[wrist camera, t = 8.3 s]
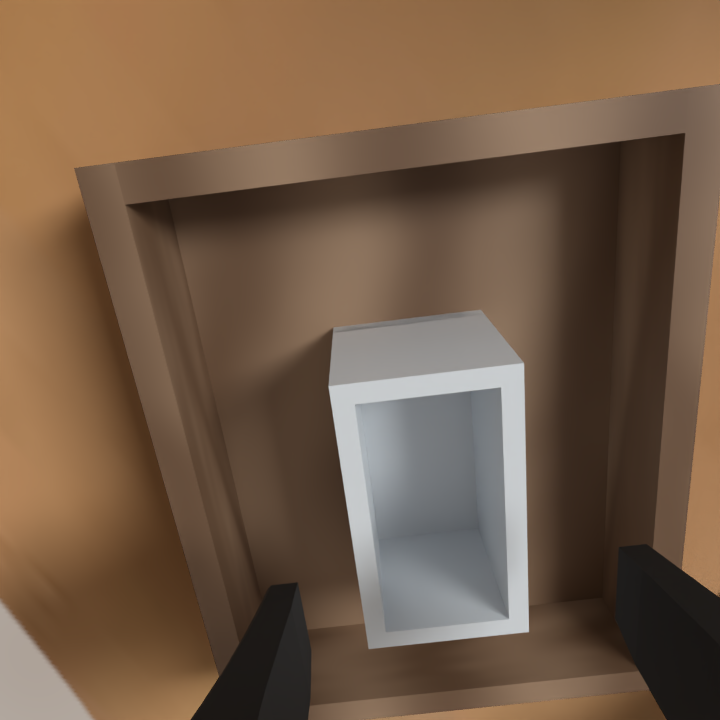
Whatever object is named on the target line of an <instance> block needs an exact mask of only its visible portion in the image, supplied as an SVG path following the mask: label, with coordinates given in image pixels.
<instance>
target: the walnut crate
mask: <svg viewBox="0 0 720 720" xmlns="http://www.w3.org/2000/svg"><path fill="white" fill-rule="evenodd" d="M74 169H75V173H76V176H77V180H78V183H79V187H80V190H81V194H82V197H83V201H84V204H85V208H86V211H87V215H88V218H89V222H90V225H91V229H92V232H93V236H94V239H95V243H96V246H97V250H98V253H99V257H100V260H101V264H102V267H103V271H104V274H105V278H106V281H107V285H108V288H109V292H110V295H111V299H112V302H113V306H114V309H115V313H116V316H117V320H118V323H119V327H120V330H121V334H122V337H123V341H124V344H125V348H126V351H127V355H128V358H129V362H130V365H131V369H132V372H133V376H134V379H135V383H136V386H137V390H138V394H139V397H140V401H141V404H142V408H143V411H144V415H145V418H146V422H147V425H148V429H149V432H150V436H151V439H152V443H153V446H154V450H155V453H156V457H157V460H158V464H159V467H160V471H161V474H162V478H163V481H164V485H165V488H166V492H167V495H168V499H169V502H170V506H171V509H172V513H173V516H174V520H175V523H176V527H177V530H178V534H179V537H180V541H181V544H182V548H183V551H184V555H185V558H186V562H187V565H188V569H189V572H190V576H191V579H192V583H193V586H194V590H195V593H196V597H197V600H198V604H199V607H200V611H201V614H202V618H203V621H204V625H205V628H206V632H207V635H208V639H209V642H210V646H211V649H212V653H213V656H214V660H215V663H216V667H217V670H218V674H219V677H220V675H221V673H222V672H223V670H224V669H225V667H226V665H227V664H228V662H229V660H230V658H231V657H232V655H233V653H234V652H235V650H236V648H237V646H238V645H239V643H240V641H241V640H242V638H243V636H244V634H245V632H246V630H247V629H248V627H249V625H250V623H251V621H252V619H253V617H254V615H255V614H256V612H257V610H258V608H259V606H260V604H261V602H262V600H263V597H264V595H265V593H266V591H267V589H268V588H269V587H270V586H271V585H278V584H287V583H296V582H298V586H299V591H300V596H301V601H302V606H303V611H304V616H305V621H306V625H307V630H308V635H309V640H310V645H311V650H312V652H311V699H310V707H309V716H308V720H366V719H376V718H386V717H395V716H405V715H414V714H424V713H434V712H443V711H453V710H463V709H472V708H482V707H491V706H501V705H511V704H520V703H530V702H539V701H549V700H559V699H568V698H578V697H587V696H597V695H607V694H616V693H626V692H635V691H645V690H649V688H648V686H647V684H646V683H645V681H644V679H643V677H642V676H641V674H640V672H639V670H638V668H637V667H636V665H635V663H634V661H633V658H632V656H631V654H630V652H629V650H628V647H627V645H626V643H625V640H624V638H623V636H622V633H621V631H620V629H619V626H618V624H617V622H616V619H615V609H616V589H617V570H618V551H619V547H623V546H632V545H641V544H647V545H649V546H650V547H651V548H653V549H654V550H655V551H657V552H658V553H660V554H661V555H662V556H664V557H665V558H666V559H668V560H669V561H670V562H672V563H673V564H674V565H676V566H677V567H678V568H680V569H681V570H682V560H683V550H684V540H685V531H686V521H687V511H688V501H689V491H690V481H691V472H692V462H693V452H694V442H695V432H696V422H697V413H698V403H699V393H700V383H701V373H702V363H703V354H704V344H705V334H706V324H707V314H708V304H709V295H710V285H711V275H712V265H713V255H714V245H715V236H716V226H717V216H718V206H719V196H720V84H716V85H709V86H701V87H693V88H686V89H678V90H670V91H663V92H655V93H647V94H640V95H632V96H624V97H617V98H609V99H601V100H594V101H586V102H578V103H570V104H563V105H555V106H547V107H540V108H532V109H524V110H517V111H509V112H501V113H494V114H486V115H478V116H471V117H463V118H455V119H448V120H440V121H432V122H425V123H417V124H409V125H402V126H394V127H386V128H379V129H371V130H363V131H355V132H348V133H340V134H332V135H325V136H317V137H309V138H302V139H294V140H286V141H279V142H271V143H263V144H256V145H248V146H240V147H233V148H225V149H217V150H210V151H202V152H194V153H187V154H179V155H171V156H164V157H156V158H148V159H140V160H133V161H125V162H117V163H110V164H102V165H94V166H87V167H79V168H74ZM474 310H481V311H482V312H483V313H484V314H485V315H486V317H487V318H488V319H489V320H490V322H491V323H492V324H493V325H494V327H495V328H496V329H497V330H498V331H499V333H500V334H501V335H502V336H503V338H504V339H505V340H506V341H507V343H508V344H509V345H510V346H511V348H512V349H513V350H514V351H515V352H516V354H517V355H518V356H519V357H520V359H521V360H522V361H523V362H524V387H525V441H526V496H527V551H528V605H529V632H524V633H515V634H506V635H496V636H487V637H478V638H468V639H459V640H450V641H440V642H431V643H421V644H412V645H403V646H393V647H384V648H375V649H369V648H368V641H367V635H366V628H365V622H364V615H363V608H362V602H361V595H360V589H359V582H358V576H357V569H356V563H355V556H354V550H353V543H352V537H351V530H350V523H349V517H348V510H347V504H346V497H345V491H344V484H343V478H342V471H341V465H340V458H339V451H338V445H337V438H336V432H335V425H334V419H333V412H332V406H331V399H330V393H329V374H330V362H331V350H332V338H333V328H334V327H342V326H350V325H358V324H367V323H375V322H383V321H391V320H400V319H408V318H416V317H425V316H433V315H441V314H449V313H458V312H466V311H474Z"/></svg>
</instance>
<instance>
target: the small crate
mask: <svg viewBox="0 0 720 720" xmlns="http://www.w3.org/2000/svg"><path fill="white" fill-rule="evenodd" d="M329 393H330V399H331V406H332V412H333V419H334V425H335V432H336V438H337V445H338V451H339V458H340V465H341V471H342V478H343V484H344V491H345V497H346V504H347V510H348V517H349V523H350V530H351V537H352V543H353V550H354V556H355V563H356V569H357V576H358V582H359V589H360V595H361V602H362V608H363V615H364V622H365V628H366V635H367V641H368V648H369V649H375V648H384V647H393V646H403V645H412V644H421V643H431V642H440V641H450V640H459V639H468V638H478V637H487V636H496V635H506V634H515V633H524V632H529V605H528V551H527V496H526V441H525V387H524V362H523V361H522V360H521V359H520V357H519V356H518V355H517V354H516V352H515V351H514V350H513V349H512V348H511V346H510V345H509V344H508V343H507V341H506V340H505V339H504V338H503V336H502V335H501V334H500V333H499V331H498V330H497V329H496V328H495V327H494V325H493V324H492V323H491V322H490V320H489V319H488V318H487V317H486V315H485V314H484V313H483V312H482V311H481V310H474V311H466V312H458V313H449V314H441V315H433V316H425V317H416V318H408V319H400V320H391V321H383V322H375V323H367V324H358V325H350V326H342V327H334V328H333V338H332V350H331V362H330V374H329Z"/></svg>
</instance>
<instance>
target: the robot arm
mask: <svg viewBox="0 0 720 720" xmlns="http://www.w3.org/2000/svg"><path fill="white" fill-rule="evenodd" d="M615 619H616V622H617V624H618V626H619V629H620V631H621V633H622V636H623V638H624V640H625V643H626V645H627V647H628V650H629V652H630V654H631V656H632V658H633V661H634V663H635V665H636V667H637V668H638V670H639V672H640V674H641V676H642V677H643V679H644V681H645V683H646V684H647V686H648V688H649V690H650V691H651V693H652V695H653V697H654V698H655V700H656V702H657V703H658V705H659V707H660V709H661V710H662V712H663V714H664V715H665V717H666V719H667V720H720V598H719V597H718V596H716V595H715V594H714V593H712V592H711V591H710V590H708V589H707V588H705V587H704V586H703V585H701V584H700V583H699V582H697V581H696V580H695V579H693V578H692V577H690V576H689V575H688V574H686V573H685V572H684V571H682V570H681V569H680V568H678V567H677V566H676V565H674V564H673V563H672V562H670V561H669V560H668V559H666V558H665V557H664V556H662V555H661V554H660V553H658V552H657V551H655V550H654V549H653V548H651V547H650V546H649V545H647V544H641V545H632V546H623V547H619V551H618V570H617V589H616V609H615ZM311 652H312V650H311V645H310V640H309V635H308V630H307V625H306V621H305V616H304V611H303V606H302V601H301V596H300V591H299V586H298V582H296V583H287V584H278V585H271V586H270V587H269V588H268V589H267V591H266V593H265V595H264V597H263V600H262V602H261V604H260V606H259V608H258V610H257V612H256V614H255V615H254V617H253V619H252V621H251V623H250V625H249V627H248V629H247V630H246V632H245V634H244V636H243V638H242V640H241V641H240V643H239V645H238V646H237V648H236V650H235V652H234V653H233V655H232V657H231V658H230V660H229V662H228V664H227V665H226V667H225V669H224V670H223V672H222V673H221V675H220V677H219V678H218V680H217V681H216V683H215V684H214V686H213V687H212V689H211V690H210V692H209V693H208V695H207V696H206V698H205V700H204V701H203V703H202V704H201V706H200V707H199V708H198V710H197V711H196V713H195V714H194V716H193V717H192V718H191V720H308V716H309V707H310V699H311Z"/></svg>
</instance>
